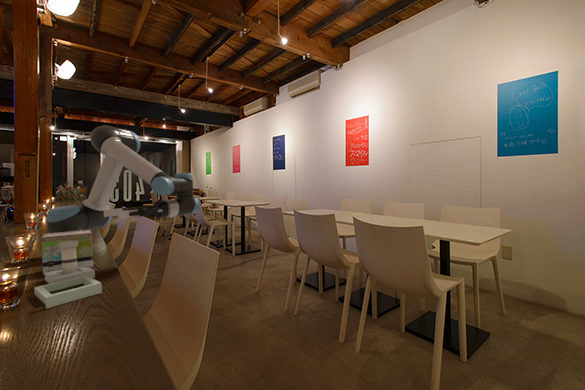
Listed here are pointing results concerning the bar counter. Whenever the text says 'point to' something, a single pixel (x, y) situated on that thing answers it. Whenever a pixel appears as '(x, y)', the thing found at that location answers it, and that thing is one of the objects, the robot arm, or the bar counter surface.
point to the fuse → (68, 256)
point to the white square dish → (56, 275)
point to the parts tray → (69, 295)
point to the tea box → (53, 253)
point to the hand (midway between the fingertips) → (111, 214)
